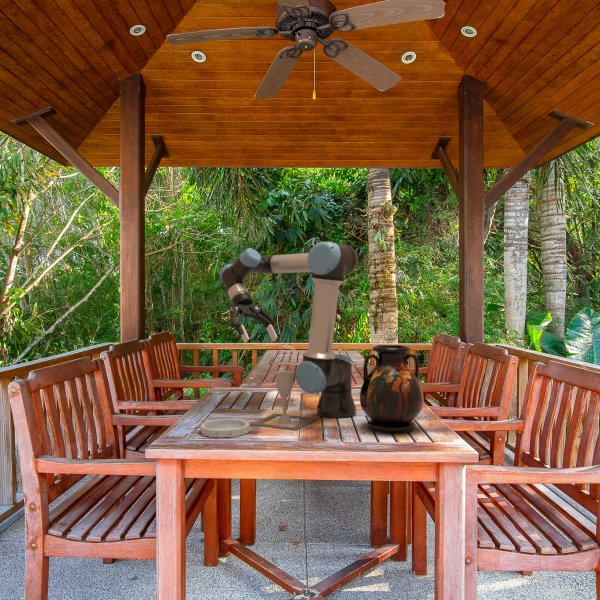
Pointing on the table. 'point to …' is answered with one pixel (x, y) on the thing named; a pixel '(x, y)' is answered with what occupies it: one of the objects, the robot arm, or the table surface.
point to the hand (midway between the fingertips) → (261, 340)
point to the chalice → (284, 391)
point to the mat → (307, 421)
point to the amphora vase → (391, 390)
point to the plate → (224, 427)
